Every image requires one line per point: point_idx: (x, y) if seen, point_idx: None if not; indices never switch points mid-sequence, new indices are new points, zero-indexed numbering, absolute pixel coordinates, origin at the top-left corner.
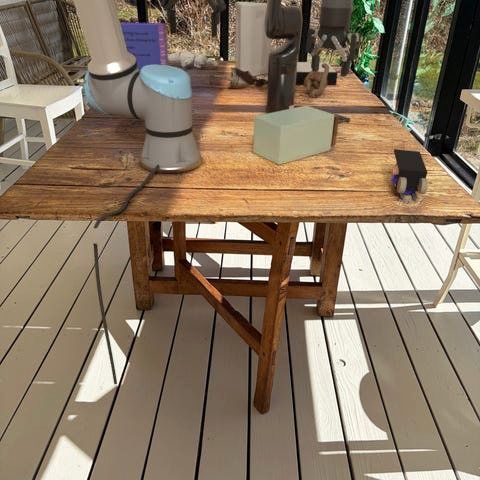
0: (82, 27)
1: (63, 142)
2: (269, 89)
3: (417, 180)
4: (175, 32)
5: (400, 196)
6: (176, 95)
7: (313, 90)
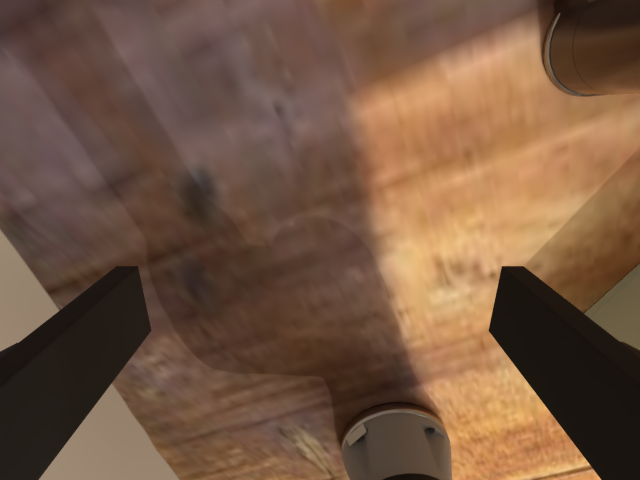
0: None
1: (148, 428)
2: (633, 75)
3: None
4: (139, 288)
5: None
6: None
7: None
